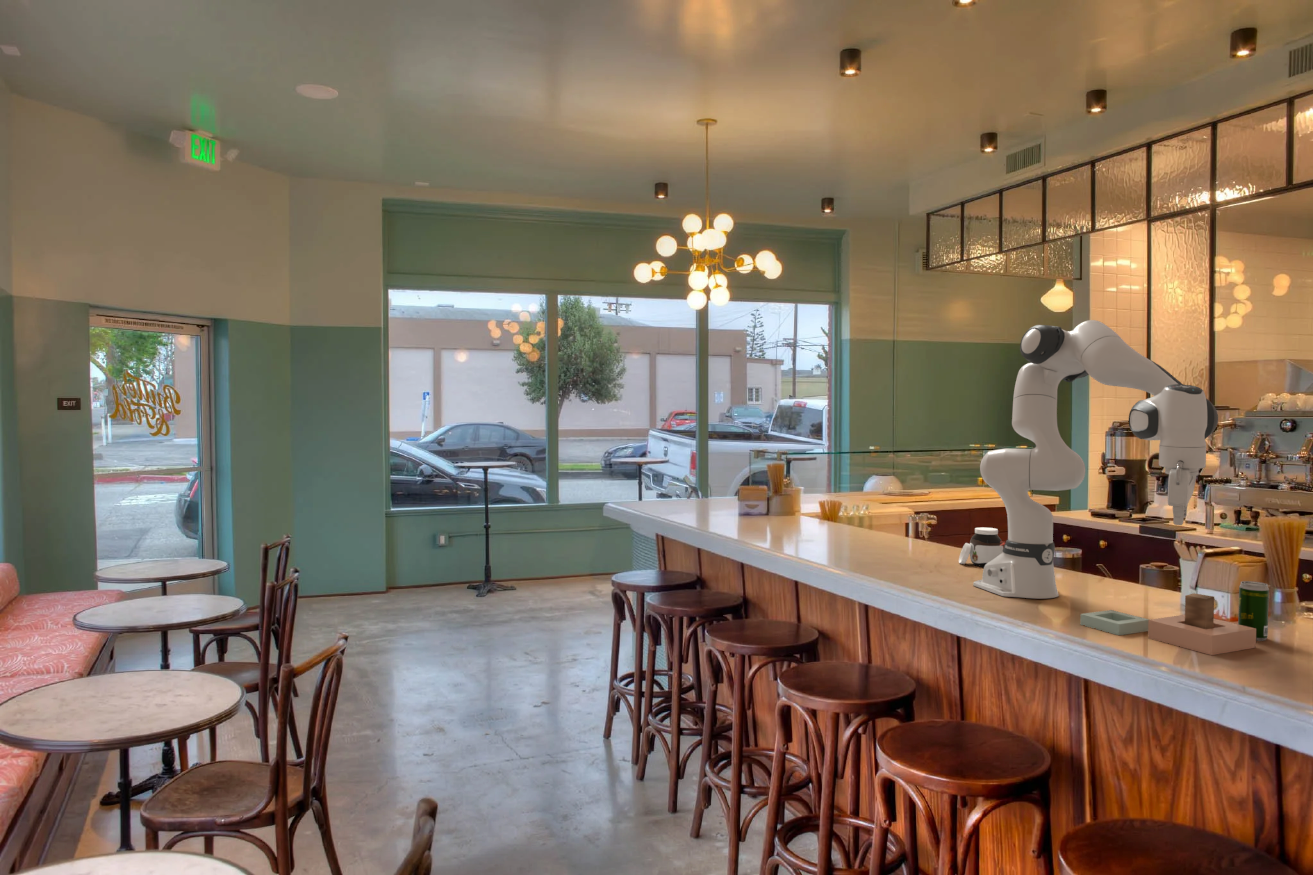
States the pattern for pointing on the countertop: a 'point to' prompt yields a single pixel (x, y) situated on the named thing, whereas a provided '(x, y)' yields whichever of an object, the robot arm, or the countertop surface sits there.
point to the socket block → (1202, 635)
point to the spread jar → (982, 547)
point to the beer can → (1254, 607)
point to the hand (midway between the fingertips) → (1180, 520)
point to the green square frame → (1114, 622)
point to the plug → (1199, 611)
